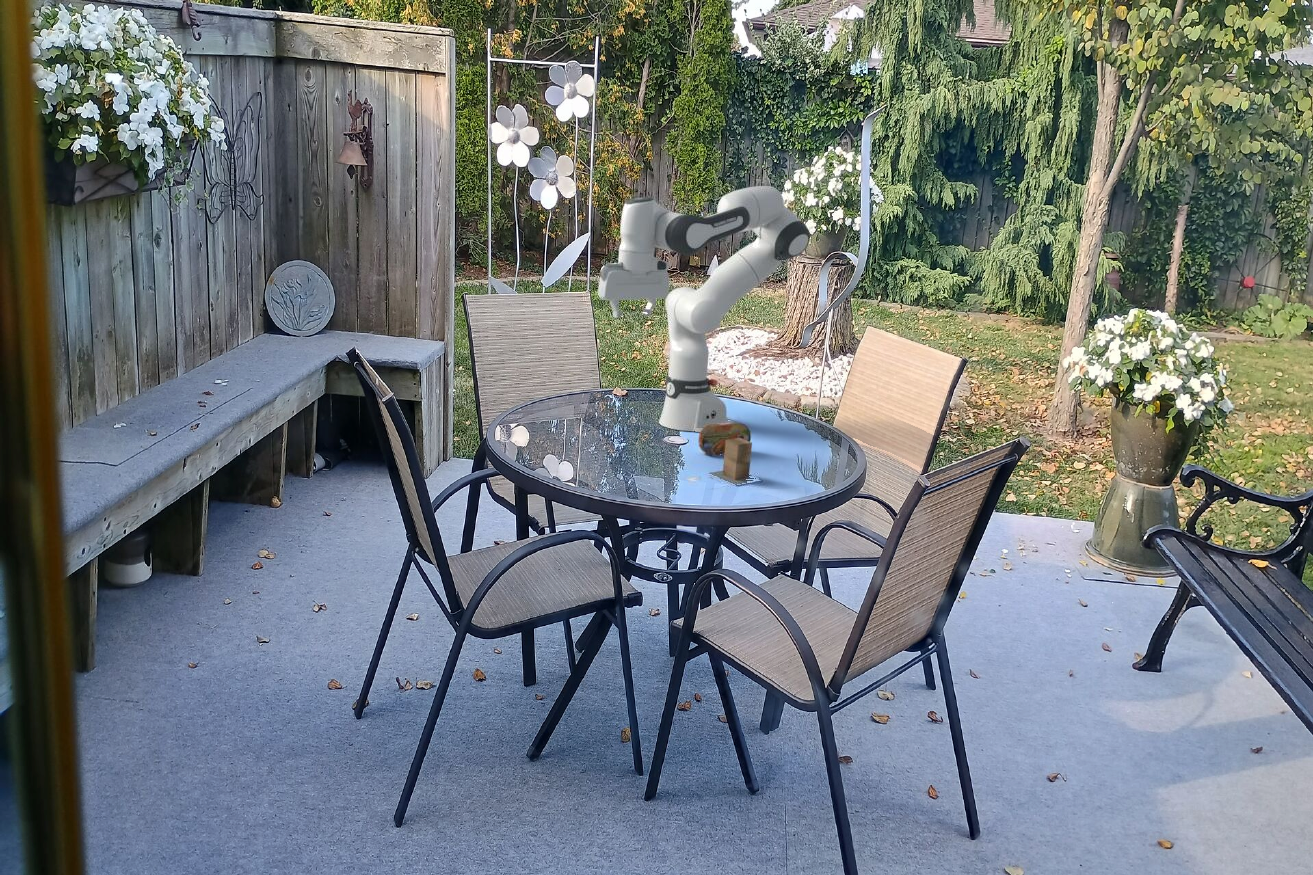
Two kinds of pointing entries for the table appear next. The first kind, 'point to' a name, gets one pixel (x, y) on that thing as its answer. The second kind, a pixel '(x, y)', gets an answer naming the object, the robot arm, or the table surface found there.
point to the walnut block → (737, 458)
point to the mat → (721, 476)
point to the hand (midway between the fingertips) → (632, 316)
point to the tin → (721, 436)
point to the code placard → (693, 479)
